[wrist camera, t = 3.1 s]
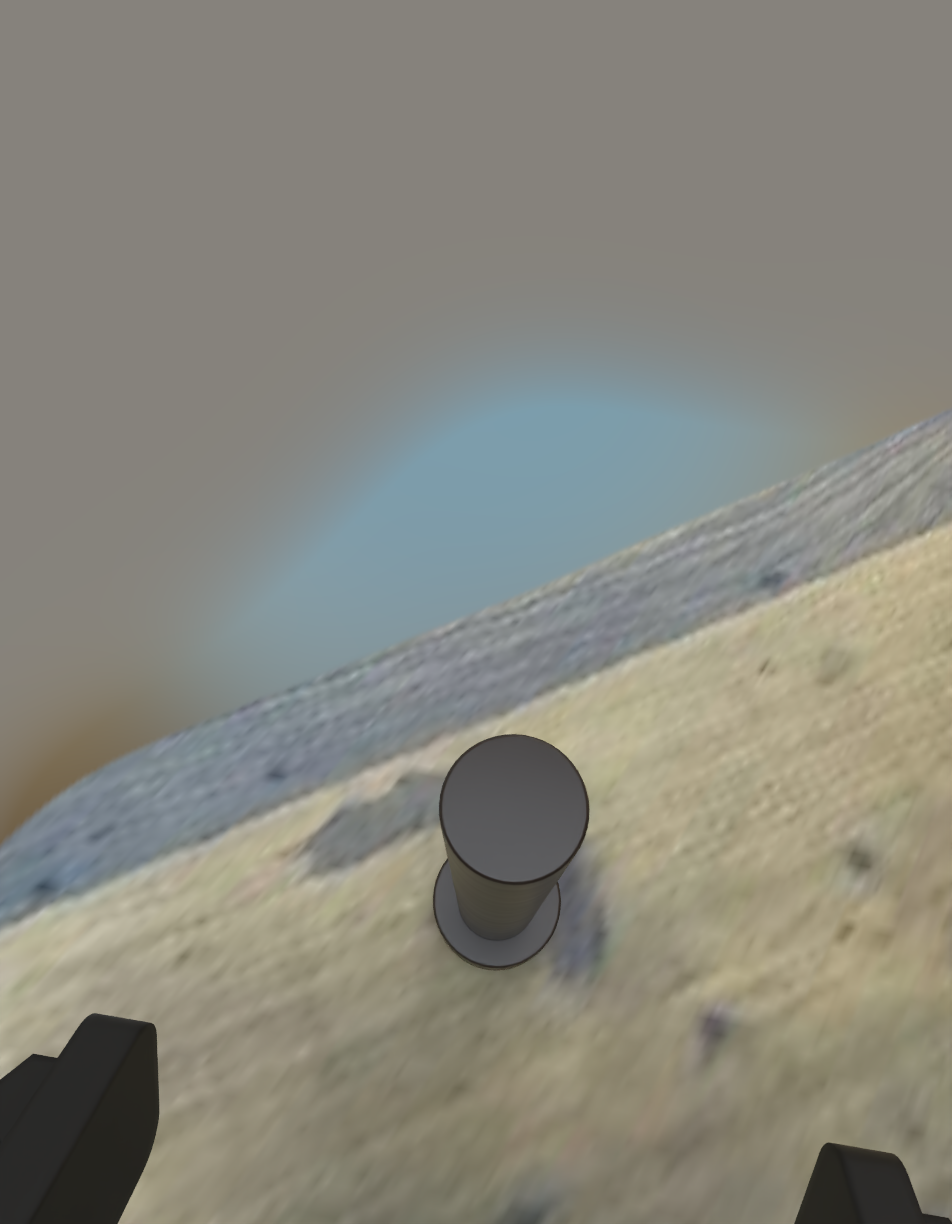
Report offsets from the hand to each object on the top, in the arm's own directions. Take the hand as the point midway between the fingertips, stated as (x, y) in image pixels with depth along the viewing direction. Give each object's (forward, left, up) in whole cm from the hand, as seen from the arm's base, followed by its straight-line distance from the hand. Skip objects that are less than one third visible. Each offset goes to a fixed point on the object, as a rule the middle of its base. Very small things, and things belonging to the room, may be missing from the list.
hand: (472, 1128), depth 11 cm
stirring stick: (0, -4, -16) cm, 16 cm away
